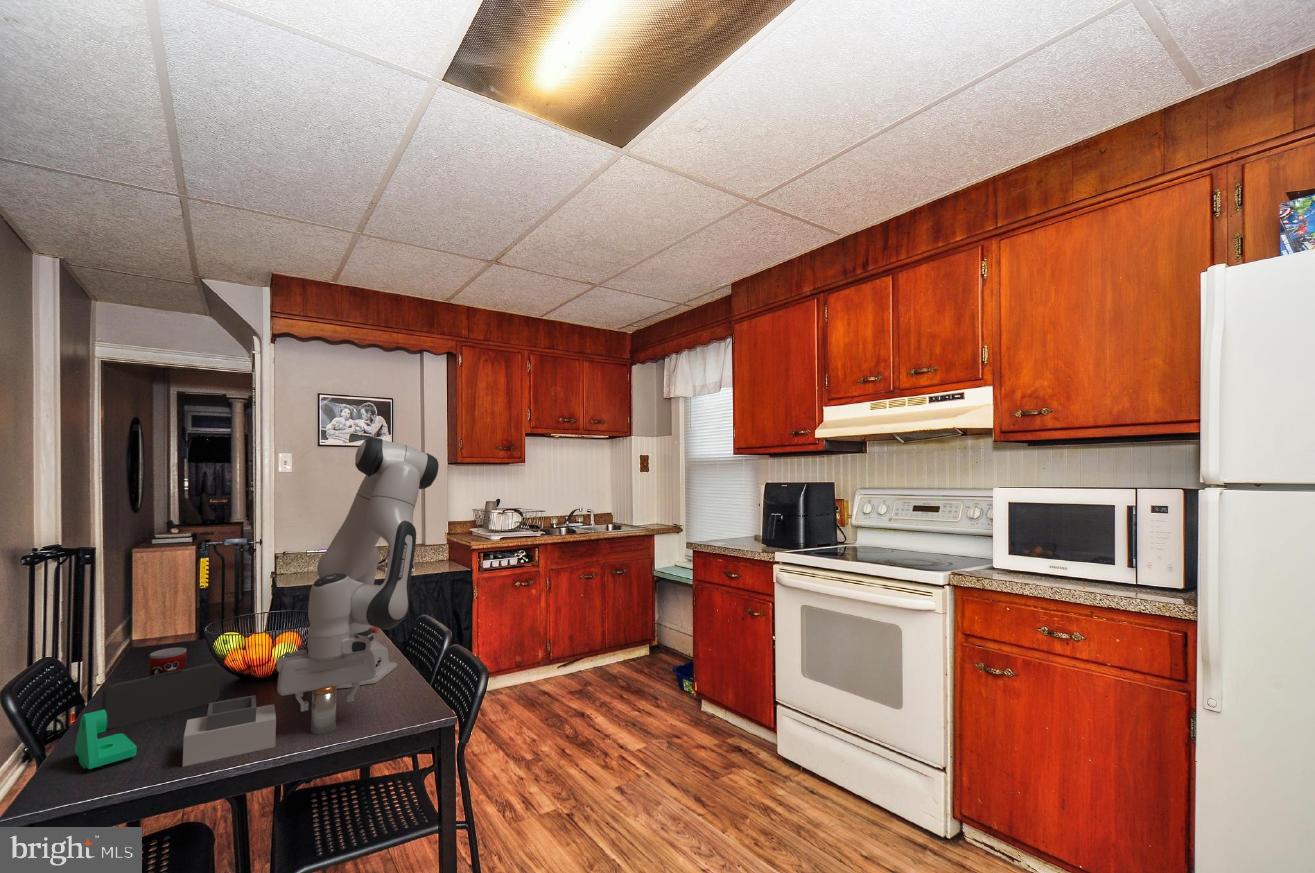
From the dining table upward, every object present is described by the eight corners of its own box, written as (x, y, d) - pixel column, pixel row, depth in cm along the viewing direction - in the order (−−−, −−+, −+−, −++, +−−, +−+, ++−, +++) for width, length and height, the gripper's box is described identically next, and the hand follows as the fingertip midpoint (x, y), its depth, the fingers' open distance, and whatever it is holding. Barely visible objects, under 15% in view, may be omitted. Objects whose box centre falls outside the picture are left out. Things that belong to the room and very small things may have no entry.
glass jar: (321, 724, 146) (323, 681, 146) (340, 725, 145) (341, 682, 145) (305, 733, 141) (307, 688, 141) (325, 735, 140) (326, 690, 140)
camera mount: (137, 760, 128) (139, 709, 129) (88, 774, 122) (90, 721, 123) (121, 744, 135) (123, 696, 136) (74, 757, 129) (76, 707, 130)
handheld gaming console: (215, 699, 161) (217, 660, 162) (219, 702, 160) (221, 662, 160) (99, 728, 143) (102, 685, 144) (102, 732, 142) (104, 687, 142)
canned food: (140, 698, 162) (142, 656, 162) (163, 687, 170) (165, 647, 170) (170, 698, 162) (171, 655, 162) (192, 687, 170) (193, 647, 170)
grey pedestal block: (182, 766, 125) (184, 721, 125) (186, 748, 133) (188, 705, 134) (275, 746, 134) (276, 704, 134) (273, 730, 142) (274, 690, 143)
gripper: (277, 656, 135) (276, 721, 135) (378, 641, 147) (376, 700, 147) (275, 650, 141) (274, 711, 140) (372, 635, 152) (371, 692, 152)
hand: (327, 705), depth 143 cm, fingers open, 8 cm apart
